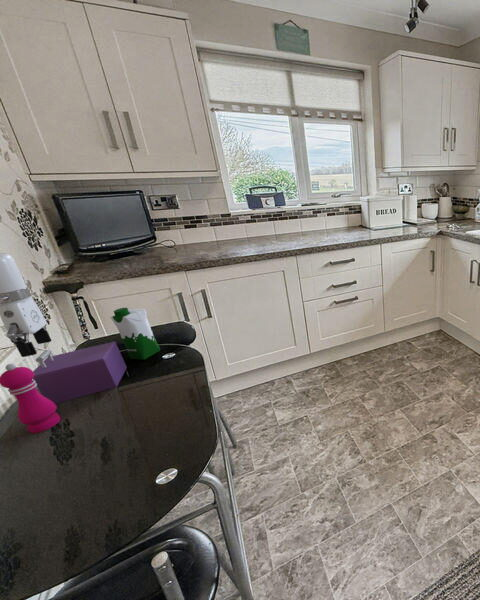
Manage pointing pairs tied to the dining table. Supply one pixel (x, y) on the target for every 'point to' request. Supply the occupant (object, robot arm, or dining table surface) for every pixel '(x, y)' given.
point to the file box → (83, 379)
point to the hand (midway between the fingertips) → (37, 348)
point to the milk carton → (135, 332)
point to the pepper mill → (29, 399)
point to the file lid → (71, 359)
